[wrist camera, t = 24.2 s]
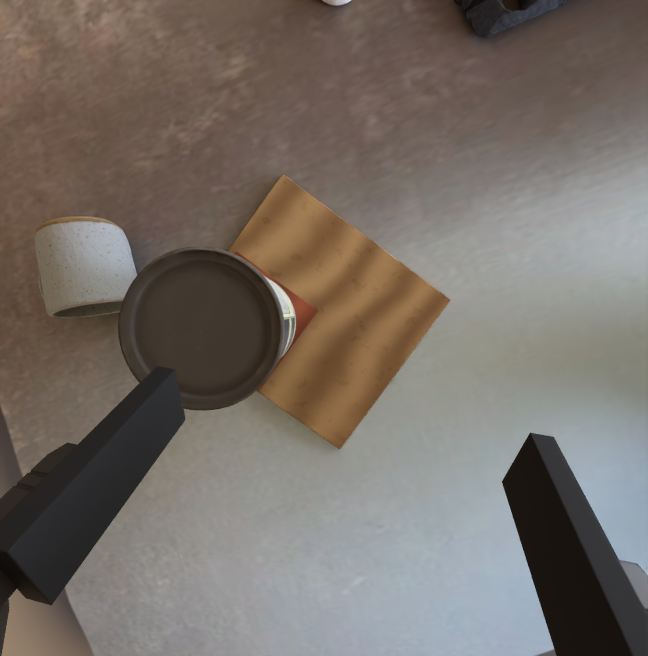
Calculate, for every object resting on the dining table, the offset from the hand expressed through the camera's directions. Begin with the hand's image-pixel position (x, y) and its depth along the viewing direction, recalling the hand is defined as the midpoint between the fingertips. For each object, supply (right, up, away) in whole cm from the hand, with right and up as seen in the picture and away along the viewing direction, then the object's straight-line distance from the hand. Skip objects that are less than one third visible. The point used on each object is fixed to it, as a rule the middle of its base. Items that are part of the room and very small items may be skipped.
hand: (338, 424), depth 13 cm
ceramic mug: (-24, +9, +23) cm, 34 cm away
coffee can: (-8, +4, +22) cm, 24 cm away
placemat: (-2, +5, +23) cm, 24 cm away
